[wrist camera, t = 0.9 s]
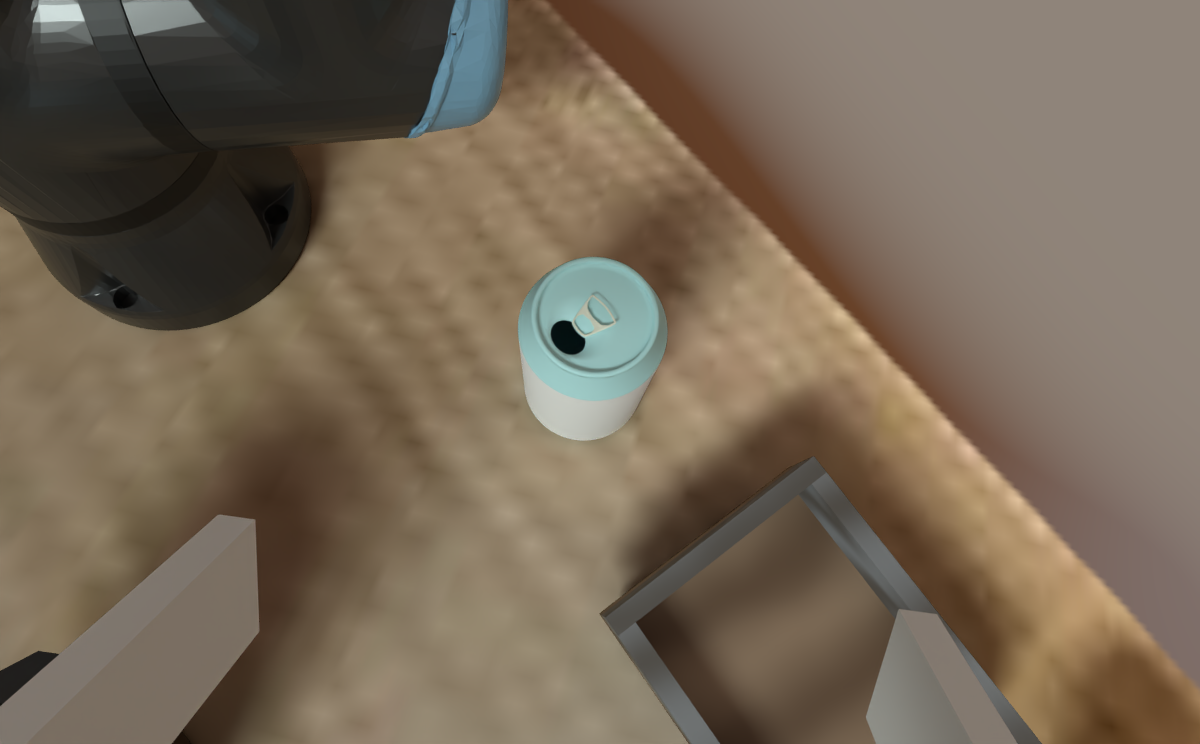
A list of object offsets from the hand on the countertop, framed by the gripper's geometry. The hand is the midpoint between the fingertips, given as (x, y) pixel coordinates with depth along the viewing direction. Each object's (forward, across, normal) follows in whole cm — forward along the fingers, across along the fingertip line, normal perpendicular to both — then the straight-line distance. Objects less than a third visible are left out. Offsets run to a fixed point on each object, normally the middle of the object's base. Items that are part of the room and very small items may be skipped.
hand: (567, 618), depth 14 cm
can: (+28, -1, -5) cm, 29 cm away
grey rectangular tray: (+20, +12, -18) cm, 29 cm away
